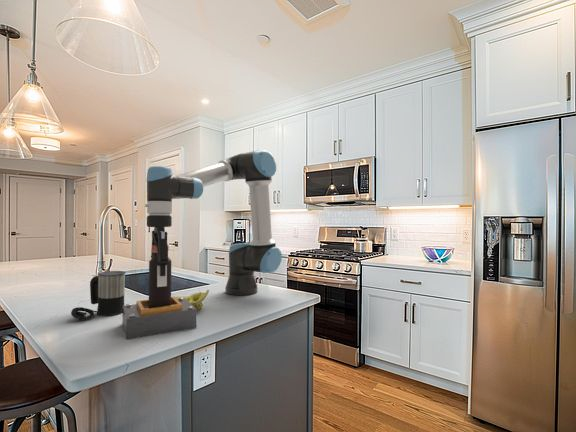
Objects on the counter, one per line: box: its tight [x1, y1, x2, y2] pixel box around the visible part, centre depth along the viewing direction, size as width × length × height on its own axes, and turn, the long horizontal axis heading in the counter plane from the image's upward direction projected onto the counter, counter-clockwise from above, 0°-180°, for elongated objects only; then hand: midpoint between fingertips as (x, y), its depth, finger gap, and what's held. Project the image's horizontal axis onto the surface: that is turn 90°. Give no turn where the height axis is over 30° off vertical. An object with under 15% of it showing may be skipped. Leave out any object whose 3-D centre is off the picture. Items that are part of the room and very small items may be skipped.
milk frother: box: [70, 270, 126, 321], centre depth 116 cm, size 14×16×15 cm
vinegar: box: [148, 244, 172, 308], centre depth 104 cm, size 7×7×20 cm
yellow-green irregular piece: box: [174, 289, 210, 310], centre depth 126 cm, size 20×7×10 cm
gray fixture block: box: [121, 296, 198, 341], centre depth 104 cm, size 20×16×8 cm
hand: (159, 283), depth 104 cm, fingers open, 10 cm apart
